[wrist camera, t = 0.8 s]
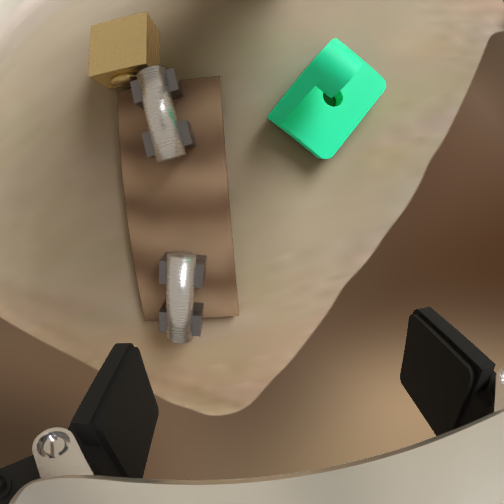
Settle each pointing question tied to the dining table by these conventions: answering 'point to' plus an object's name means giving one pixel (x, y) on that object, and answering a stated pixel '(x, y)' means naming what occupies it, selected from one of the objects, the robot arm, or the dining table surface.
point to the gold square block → (123, 49)
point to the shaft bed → (180, 199)
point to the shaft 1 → (162, 113)
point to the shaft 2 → (181, 295)
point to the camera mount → (334, 85)
